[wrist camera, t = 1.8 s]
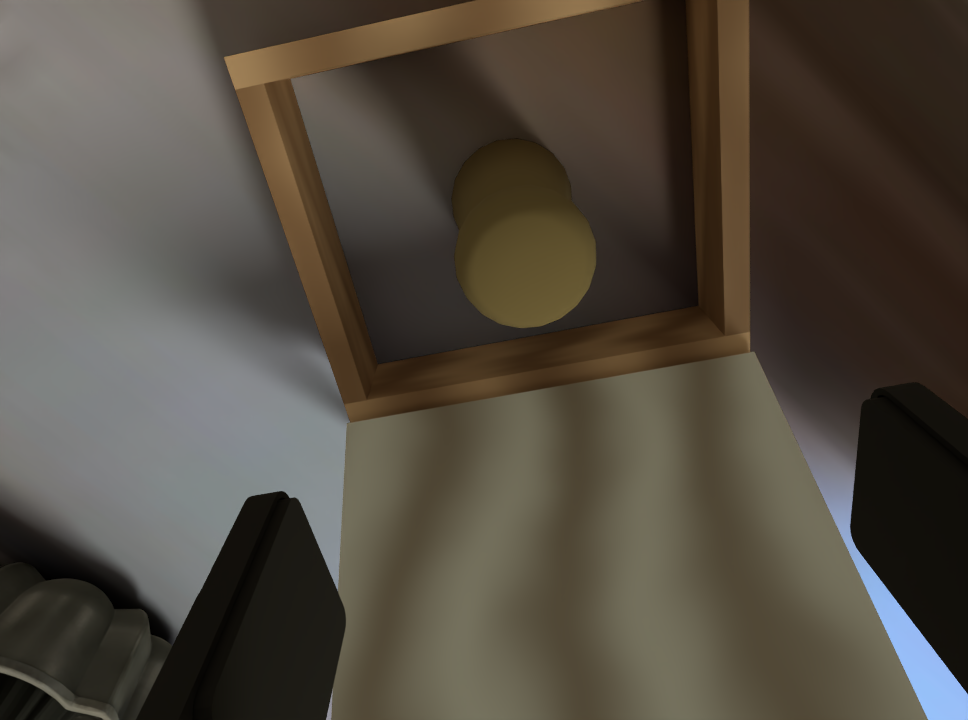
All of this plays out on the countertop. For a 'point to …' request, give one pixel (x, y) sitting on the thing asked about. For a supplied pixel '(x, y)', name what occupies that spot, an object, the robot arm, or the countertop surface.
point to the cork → (520, 235)
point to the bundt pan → (71, 651)
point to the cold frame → (577, 463)
